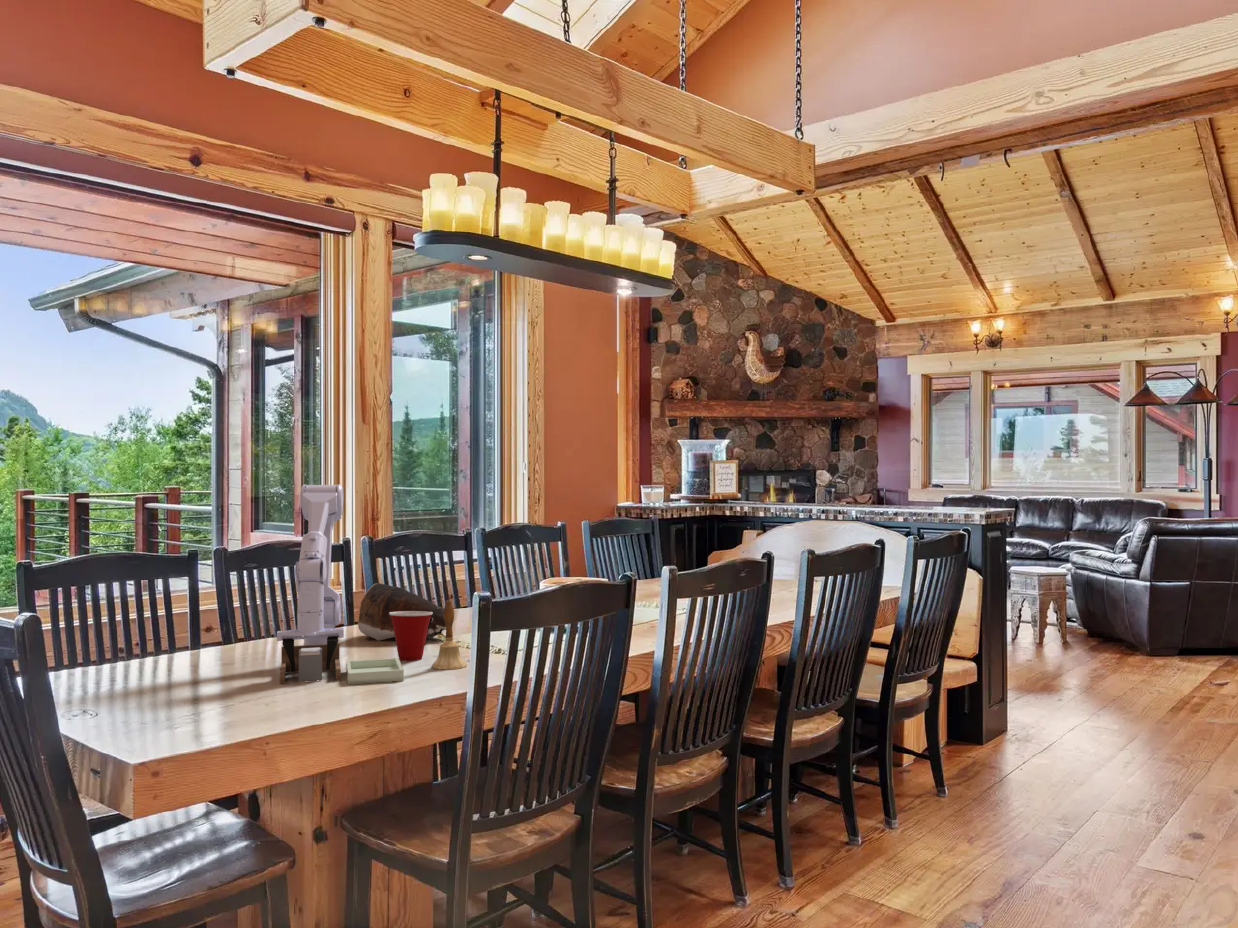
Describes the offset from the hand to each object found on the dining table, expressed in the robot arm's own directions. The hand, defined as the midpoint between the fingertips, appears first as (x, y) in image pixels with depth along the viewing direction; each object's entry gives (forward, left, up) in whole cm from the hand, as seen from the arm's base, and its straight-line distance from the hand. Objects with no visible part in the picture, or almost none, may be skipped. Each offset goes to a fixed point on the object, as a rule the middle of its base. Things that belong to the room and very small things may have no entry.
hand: (310, 670), depth 218 cm
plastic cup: (-15, +24, -2) cm, 28 cm away
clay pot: (-43, +26, -2) cm, 50 cm away
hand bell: (-3, +32, -2) cm, 32 cm away
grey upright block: (0, 0, -2) cm, 2 cm away
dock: (-1, 0, -2) cm, 2 cm away
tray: (+3, +14, -2) cm, 14 cm away
